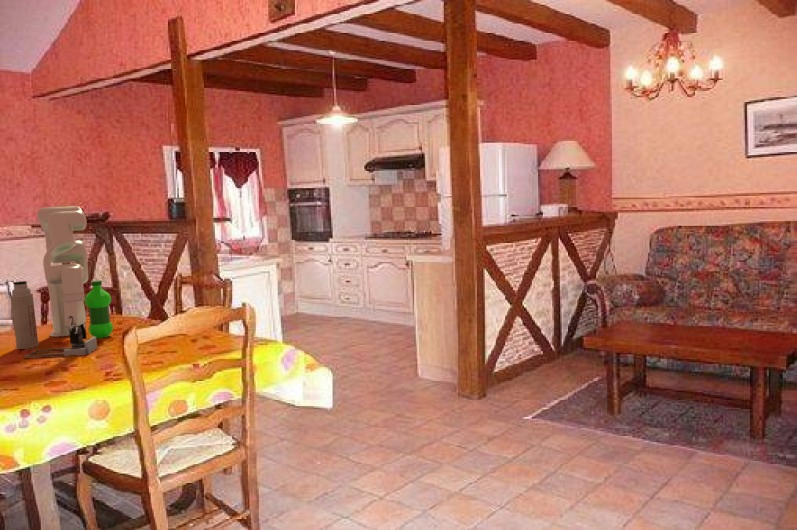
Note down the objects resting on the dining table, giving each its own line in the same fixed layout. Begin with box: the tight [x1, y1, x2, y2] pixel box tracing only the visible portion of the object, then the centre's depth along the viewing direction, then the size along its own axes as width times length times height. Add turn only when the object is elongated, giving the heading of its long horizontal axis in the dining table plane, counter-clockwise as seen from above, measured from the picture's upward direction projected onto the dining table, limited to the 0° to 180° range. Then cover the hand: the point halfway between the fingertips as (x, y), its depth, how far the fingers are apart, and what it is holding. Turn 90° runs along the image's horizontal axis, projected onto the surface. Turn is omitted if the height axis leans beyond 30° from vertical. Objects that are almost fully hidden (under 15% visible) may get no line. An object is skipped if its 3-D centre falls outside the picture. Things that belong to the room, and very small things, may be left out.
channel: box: [23, 346, 73, 360], centre depth 261 cm, size 10×15×1 cm, turn 96°
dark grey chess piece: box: [70, 326, 85, 349], centre depth 261 cm, size 6×6×12 cm
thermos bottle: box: [10, 280, 39, 350], centre depth 273 cm, size 8×8×28 cm
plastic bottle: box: [84, 279, 114, 339], centre depth 288 cm, size 10×10×25 cm
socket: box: [63, 336, 98, 357], centre depth 261 cm, size 10×9×5 cm
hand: (78, 340), depth 261 cm, fingers open, 7 cm apart
